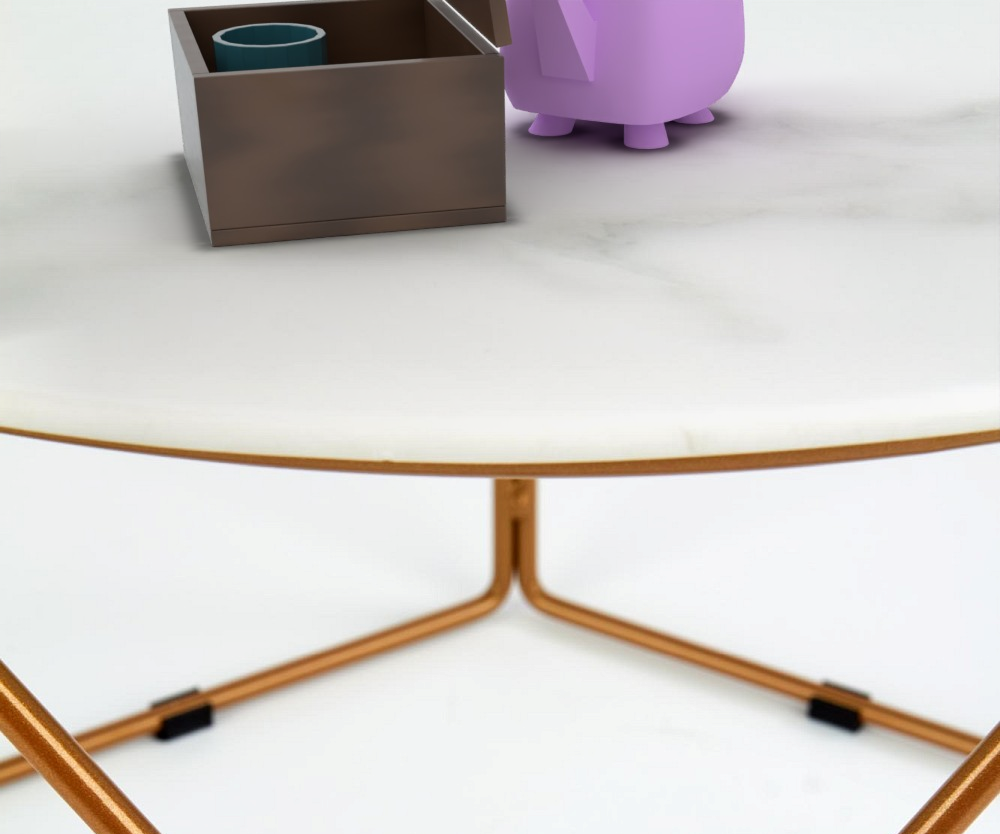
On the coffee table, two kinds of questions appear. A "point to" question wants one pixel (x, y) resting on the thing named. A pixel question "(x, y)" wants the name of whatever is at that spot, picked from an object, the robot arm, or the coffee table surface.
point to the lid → (486, 18)
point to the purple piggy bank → (622, 62)
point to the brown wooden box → (343, 123)
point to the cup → (269, 47)
